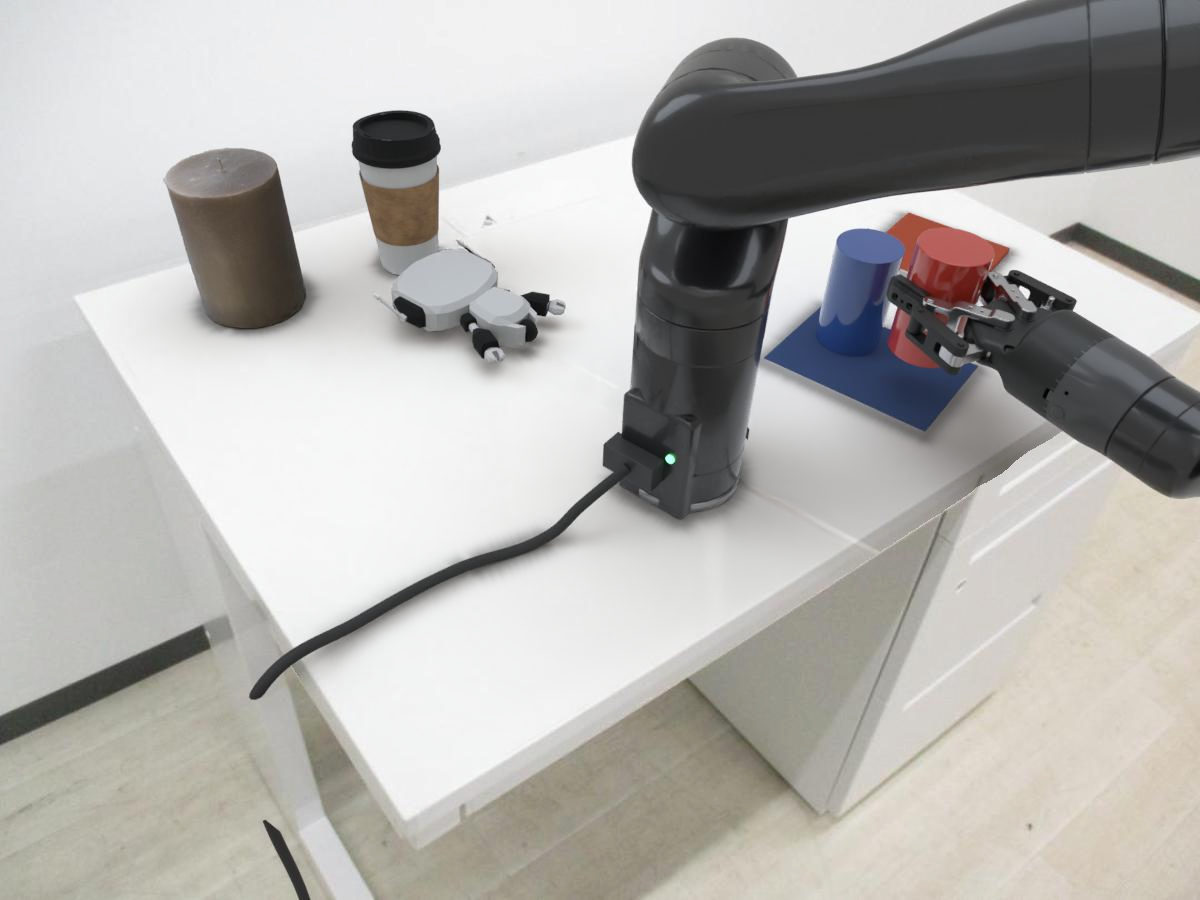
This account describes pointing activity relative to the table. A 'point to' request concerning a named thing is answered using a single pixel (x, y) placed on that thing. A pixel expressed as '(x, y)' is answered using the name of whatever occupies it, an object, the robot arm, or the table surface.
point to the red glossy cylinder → (942, 281)
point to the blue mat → (872, 376)
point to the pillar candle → (237, 236)
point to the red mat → (916, 225)
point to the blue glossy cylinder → (858, 291)
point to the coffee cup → (400, 184)
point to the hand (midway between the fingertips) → (920, 274)
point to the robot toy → (468, 301)
